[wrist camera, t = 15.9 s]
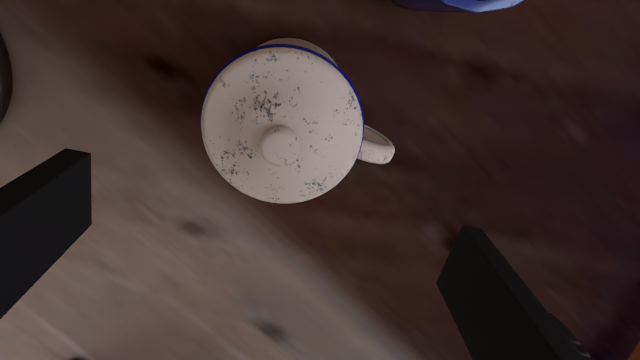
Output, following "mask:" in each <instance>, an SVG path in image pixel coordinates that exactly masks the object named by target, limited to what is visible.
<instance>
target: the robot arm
mask: <svg viewBox="0 0 640 360" xmlns="http://www.w3.org/2000/svg"><path fill="white" fill-rule="evenodd" d="M11 92H12V72H11V64H10V60H9V55H8V52H7V49H6V46H5V43H4V40H3V38H2V35H1V33H0V123H1V121H2V120H3V118H4V116H5V114H6V112H7V109H8V106H9V103H10V98H11ZM91 224H92V218H91V153H87V152H82V151H77V150H72V149H67V148H66V149H64V150H62V151H61V152H59V153H57V154H56V155H54V156H52V157H51V158H49V159H47V160H46V161H44V162H42V163H41V164H39V165H38V166H36V167H34V168H33V169H31V170H29V171H28V172H26V173H24V174H23V175H21V176H19V177H18V178H16V179H14V180H13V181H11V182H9V183H8V184H6V185H5V186H3V187H1V188H0V319H1V318H2V317H3V316H4V315H5V314H6V313H7V312H8V311H9V310H10V309H11V308H12V306H13V305H14V304H15V303H16V302H17V301H18V300H19V299H20V298H21V297H22V296H23V295H24V294H25V293H26V292H27V291H28V290H29V289H30V288H31V287H32V286H33V285H34V284H35V283H36V282H37V280H38V279H39V278H40V277H41V276H42V275H43V274H44V273H45V272H46V271H47V270H48V269H49V268H50V267H51V266H52V265H53V264H54V263H55V262H56V261H57V260H58V259H59V258H60V257H61V256H62V255H63V253H64V252H65V251H66V250H67V249H68V248H69V247H70V246H71V245H72V244H73V243H74V242H75V241H76V240H77V239H78V238H79V237H80V236H81V235H82V234H83V233H84V232H85V231H86V230H87V229H88V228H89V226H90V225H91ZM436 283H437V286H438V288H439V290H440V292H441V294H442V296H443V298H444V300H445V302H446V304H447V306H448V309H449V311H450V313H451V315H452V317H453V319H454V321H455V323H456V325H457V327H458V329H459V332H460V334H461V336H462V338H463V340H464V342H465V344H466V346H467V348H468V350H469V352H470V355H471V357H472V359H473V360H594V359H593V358H590V354H589V353H588V352H587V350H586V349H585V348H584V347H583V346H581V345H580V342H579V341H578V339H577V338H576V337H575V336H574V335H573V333H572V332H571V331H570V330H569V328H568V327H567V326H565V325H564V324H563V323H562V322H561V321H559V320H558V319H557V318H556V317H555V316H553V315H552V314H551V313H548V312H547V311H546V309H545V308H544V307H543V306H542V304H541V303H540V302H539V301H538V299H537V298H536V297H535V296H534V294H533V293H532V292H531V291H530V289H529V288H528V287H527V286H526V284H525V283H524V282H523V281H522V279H521V278H520V277H519V275H518V274H517V273H516V272H515V270H514V269H513V268H512V267H511V265H510V264H509V263H508V262H507V260H506V259H505V258H504V257H503V255H502V254H501V253H500V252H499V250H498V249H497V248H496V247H495V245H494V244H493V243H492V242H491V240H490V239H489V238H488V236H487V235H486V234H485V233H484V231H483V230H482V229H480V228H475V227H469V226H464V225H462V227H461V230H460V232H459V234H458V236H457V238H456V241H455V243H454V245H453V247H452V249H451V252H450V254H449V256H448V258H447V260H446V263H445V265H444V267H443V269H442V271H441V274H440V276H439V278H438V280H437V282H436Z"/></svg>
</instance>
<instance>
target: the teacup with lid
mask: <svg viewBox="0 0 640 360" xmlns="http://www.w3.org/2000/svg"><path fill="white" fill-rule="evenodd" d="M200 125H201V134H202V138H203V142H204V146H205V149H206V151H207V154H208V156H209V158H210V160H211V162H212V163H213V165H214V166H215V168H216V169H217V171H218V172H219V173H220V174H221V175H222V177H223V178H224V179H225V180H226V181H227V182H229V183H230V184H231V185H232V186H234V187H235V188H236V189H238V190H239V191H241V192H243V193H245V194H247V195H249V196H251V197H253V198H256V199H259V200H263V201H266V202H272V203H297V202H303V201H306V200H310V199H313V198H315V197H318V196H320V195H322V194H324V193H325V192H327V191H329V190H330V189H332V188H333V187H334V186H336V185H337V184H338V183H339V182H340V181H341V180H342V179H343V178H344V177H345V176H346V174H347V173H348V172H349V171H350V169H351V168H352V166H353V165H354V163H355V161H356V159H357V158H358V159H361V160H364V161H367V162H371V163H375V164H385V163H388V162H389V161H390V160H391V159H392V157H393V154H394V152H395V148H394V146H393V144H392V143H391V141H390V140H388V139H387V138H386V137H385V136H384V135H382V134H381V133H379V132H378V131H376V130H374V129H372V128H370V127H368V126H366V125H364V115H363V109H362V105H361V102H360V99H359V96H358V94H357V92H356V89H355V88H354V86H353V84H352V83H351V81H350V80H349V78H348V77H347V76H346V74H345V73H344V72H343V71H342V70H341V69H340V68H339V67H338V66H337V64H336V63H335V61H334V60H333V59H332V58H331V57H330V56H329V55H328V54H327V53H326V52H325V51H324V50H322V49H321V48H320V47H318V46H316V45H315V44H312V43H310V42H308V41H305V40H301V39H297V38H278V39H273V40H270V41H267V42H265V43H262V44H261V45H259V46H257V47H255V48H252V49H250V50H247V51H245V52H243V53H241V54H239V55H237V56H236V57H234V58H233V59H232V60H230V61H229V62H228V63H227V64H225V65H224V66H223V67H222V68H221V69H220V70H219V72H218V73H217V74H216V75H215V77H214V78H213V80H212V81H211V83H210V85H209V87H208V89H207V91H206V93H205V96H204V99H203V103H202V108H201V117H200Z"/></svg>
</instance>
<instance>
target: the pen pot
mask: <svg viewBox="0 0 640 360" xmlns="http://www.w3.org/2000/svg"><path fill="white" fill-rule="evenodd" d="M390 1H392V2H393V3H395V4H396V5H398V6H401V7H403V8H406V9H411V10H415V11H424V12H460V13H481V12H487V11H494V10H500V9H506V8H510V7H513V6H515V5H517V4H518V3H520V2H522V1H523V0H390Z"/></svg>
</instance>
